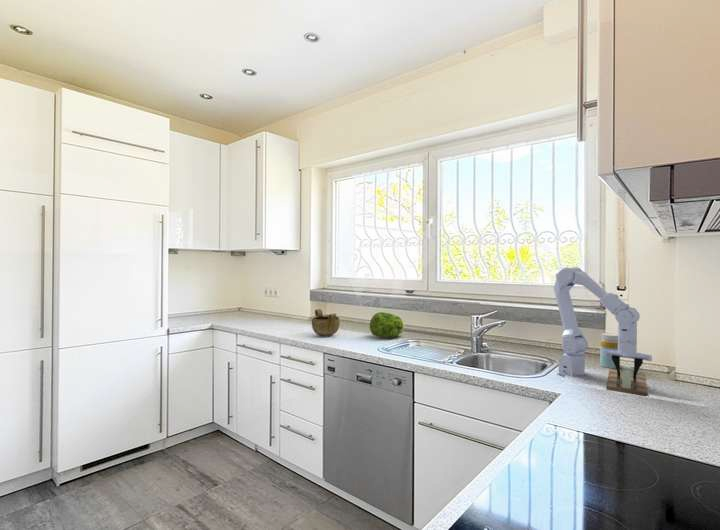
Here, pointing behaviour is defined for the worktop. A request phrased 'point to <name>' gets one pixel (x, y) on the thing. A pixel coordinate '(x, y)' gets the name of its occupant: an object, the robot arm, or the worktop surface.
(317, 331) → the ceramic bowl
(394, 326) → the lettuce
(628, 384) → the door panel
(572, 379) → the worktop surface
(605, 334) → the bottle
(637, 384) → the hinge board
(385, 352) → the worktop surface
